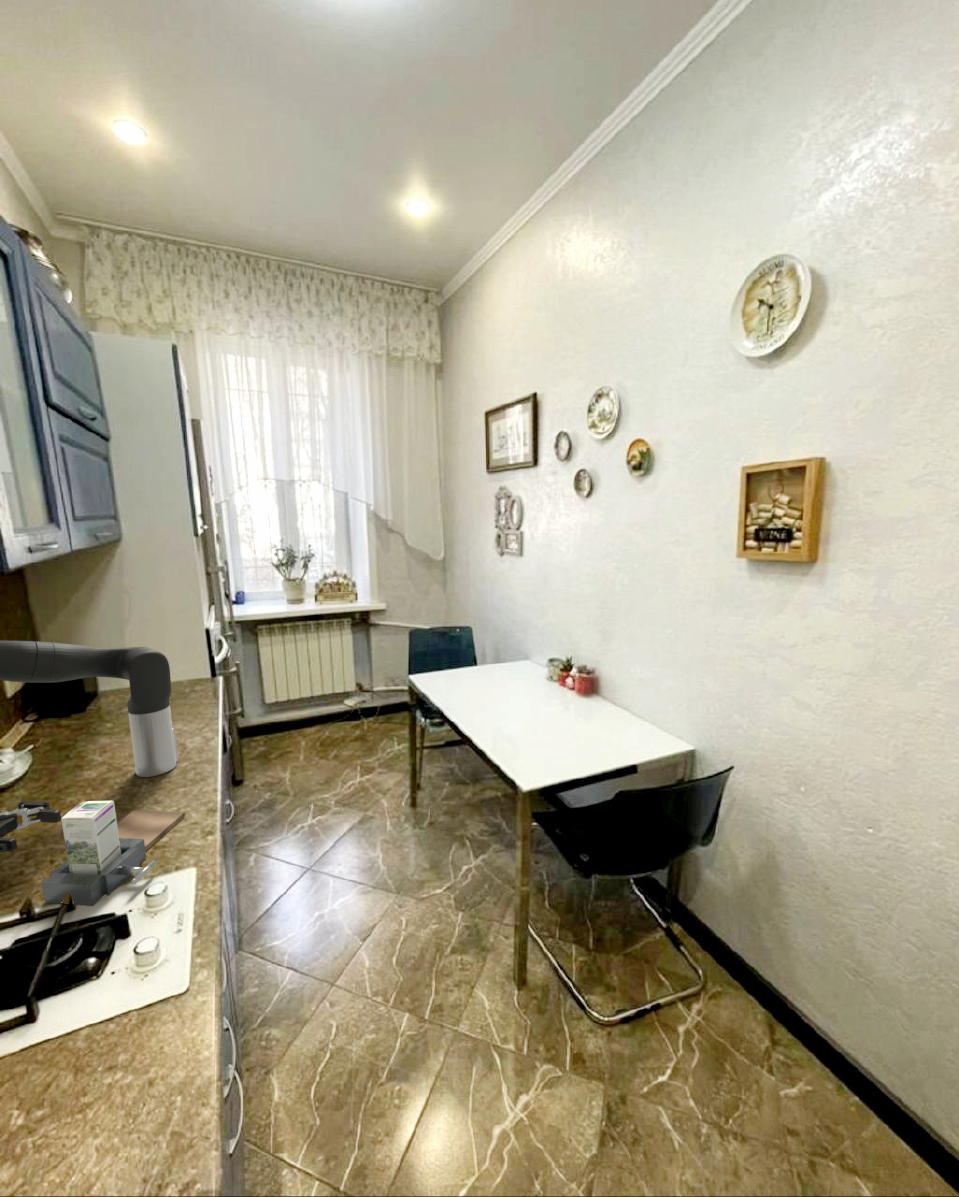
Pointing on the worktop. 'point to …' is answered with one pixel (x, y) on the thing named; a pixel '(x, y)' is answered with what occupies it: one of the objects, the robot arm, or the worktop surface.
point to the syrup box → (91, 837)
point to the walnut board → (148, 825)
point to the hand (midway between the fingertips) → (38, 830)
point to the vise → (97, 877)
